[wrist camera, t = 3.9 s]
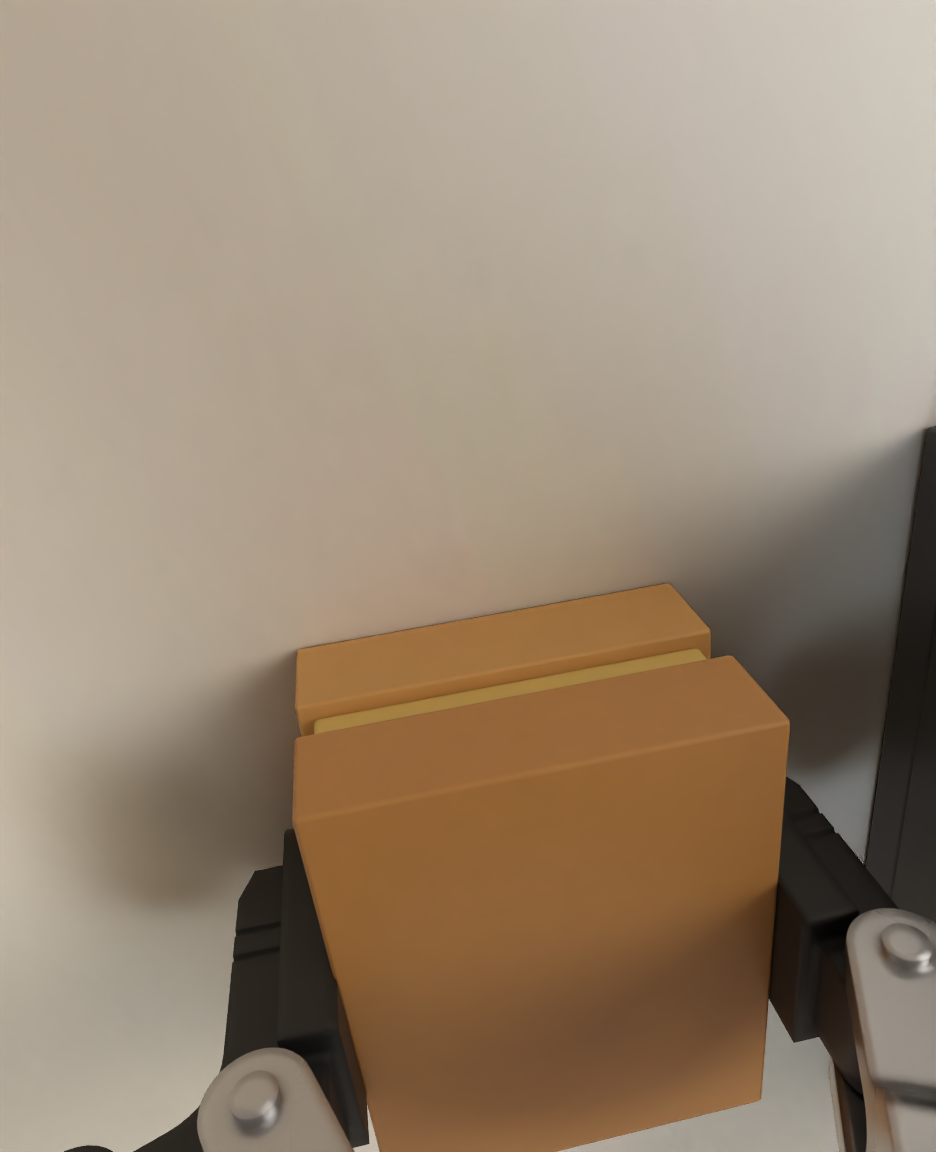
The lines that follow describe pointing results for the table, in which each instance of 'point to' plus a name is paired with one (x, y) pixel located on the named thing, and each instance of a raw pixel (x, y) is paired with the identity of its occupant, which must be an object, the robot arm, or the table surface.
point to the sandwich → (543, 869)
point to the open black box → (911, 727)
